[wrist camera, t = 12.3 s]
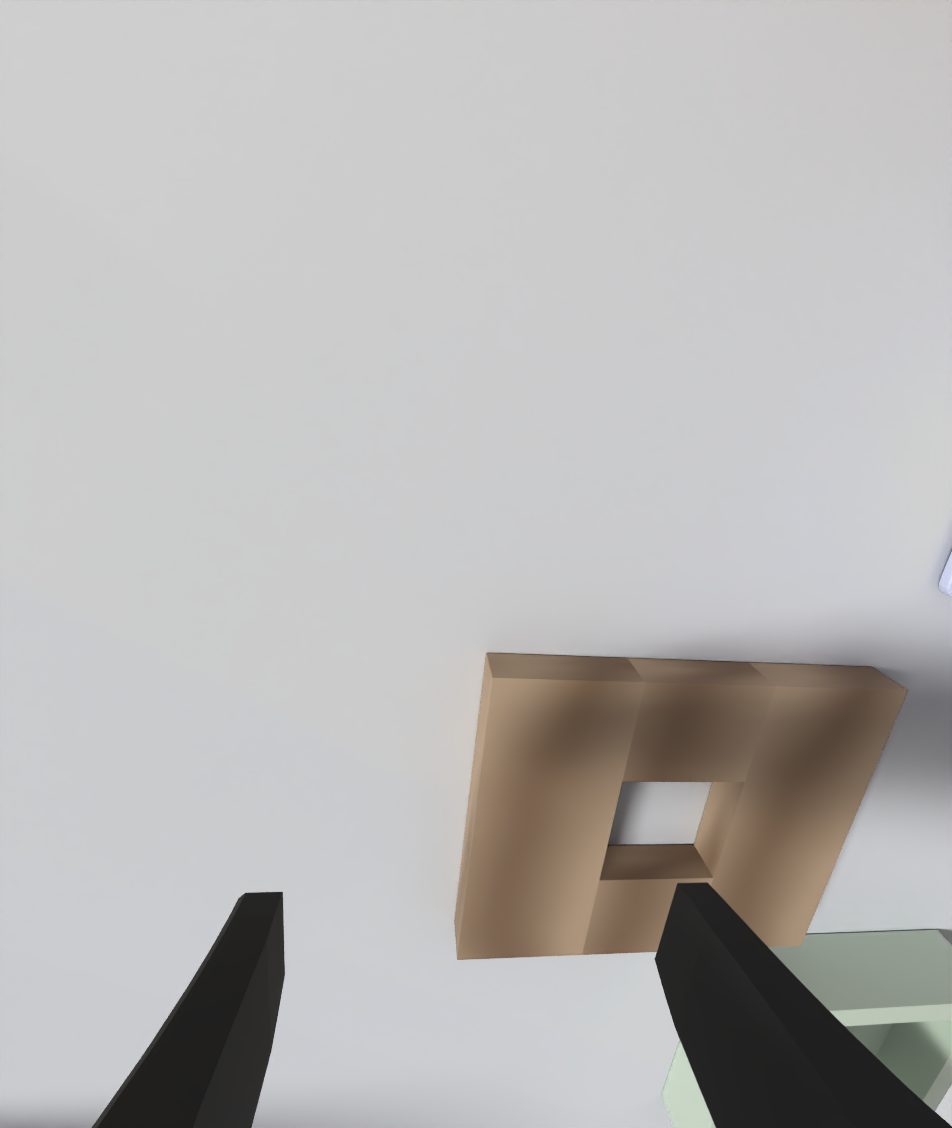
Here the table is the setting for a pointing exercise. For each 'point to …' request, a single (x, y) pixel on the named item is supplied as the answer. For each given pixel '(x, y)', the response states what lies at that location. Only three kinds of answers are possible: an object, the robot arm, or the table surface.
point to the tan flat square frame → (658, 754)
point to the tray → (863, 1009)
